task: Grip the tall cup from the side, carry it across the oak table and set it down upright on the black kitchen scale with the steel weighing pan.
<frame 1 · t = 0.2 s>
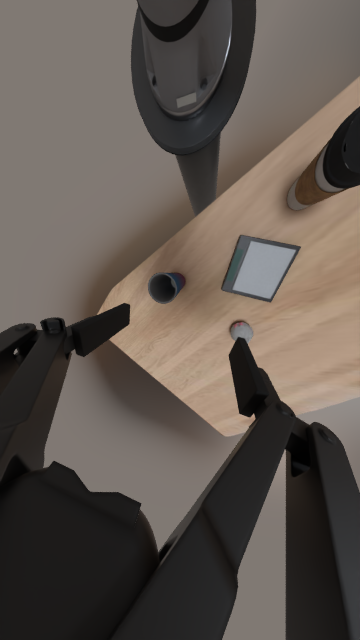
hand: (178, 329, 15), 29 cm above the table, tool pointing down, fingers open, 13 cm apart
scale: (254, 270, 36), on the table
figurine: (239, 327, 43), on the table
cup: (178, 281, 42), on the table
coffee cup: (302, 194, 28), on the table
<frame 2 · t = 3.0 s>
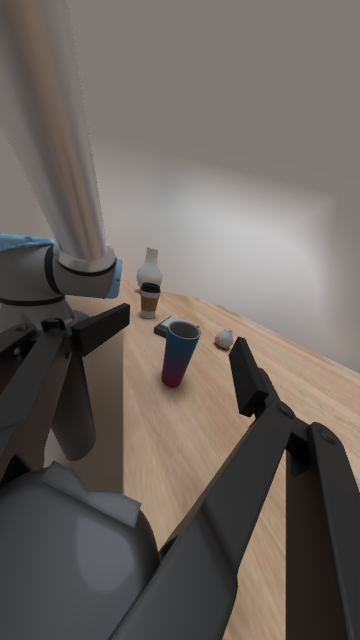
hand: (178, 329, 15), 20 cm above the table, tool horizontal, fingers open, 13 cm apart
scale: (177, 331, 53), on the table
figurine: (220, 346, 50), on the table
cup: (171, 378, 32), on the table
coffee cup: (147, 316, 60), on the table
vase: (148, 293, 90), on the table
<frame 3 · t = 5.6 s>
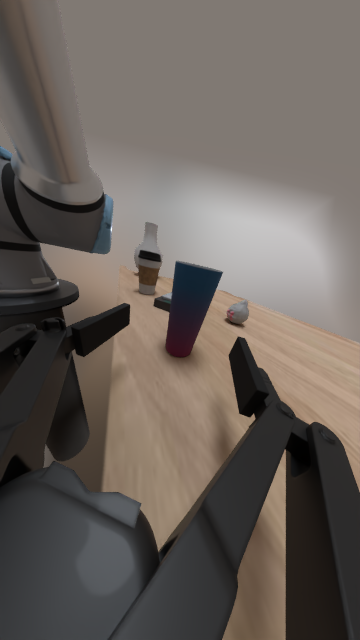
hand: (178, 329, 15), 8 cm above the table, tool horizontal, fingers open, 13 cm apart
scale: (181, 307, 45), on the table
figurine: (232, 322, 43), on the table
cup: (178, 348, 25), on the table
coffee cup: (146, 292, 52), on the table
vase: (147, 276, 82), on the table
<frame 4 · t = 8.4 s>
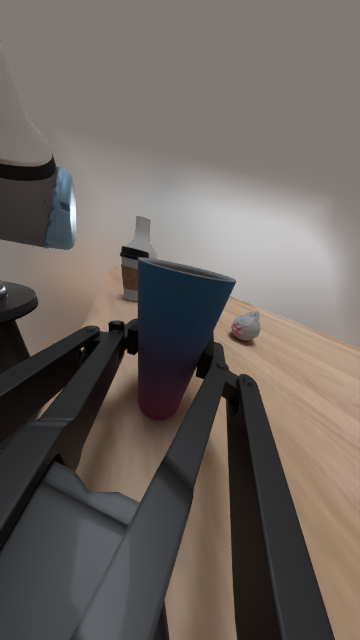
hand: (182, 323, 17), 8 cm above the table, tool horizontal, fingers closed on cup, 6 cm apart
figurine: (239, 338, 34), on the table
cup: (159, 397, 16), on the table, touching gripper
coffee cup: (133, 298, 43), on the table
vase: (139, 278, 74), on the table
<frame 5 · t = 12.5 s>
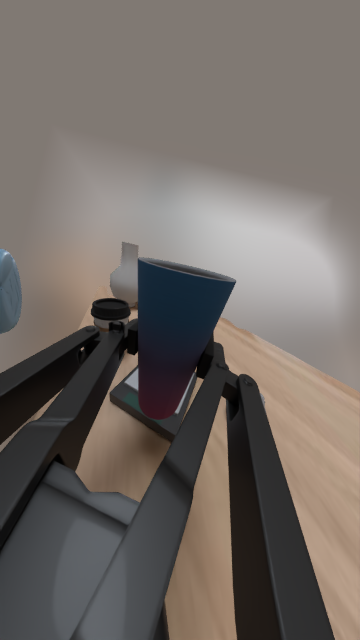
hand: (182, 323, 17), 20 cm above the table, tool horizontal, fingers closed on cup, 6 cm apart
scale: (159, 389, 29), on the table
cup: (159, 397, 16), point 12 cm above the table, touching gripper
coffee cup: (113, 352, 36), on the table
vase: (128, 304, 67), on the table
when the fingers open (11 cm above the table, at t = 16.4 s): cup stays where it is, resting on scale.
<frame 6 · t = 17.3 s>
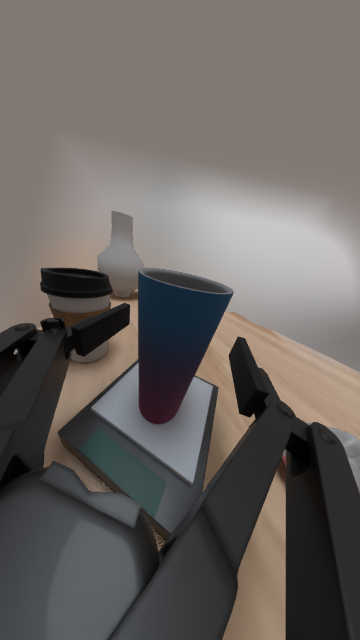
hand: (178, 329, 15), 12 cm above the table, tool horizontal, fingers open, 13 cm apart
scale: (156, 414, 17), on the table
figurine: (297, 472, 15), on the table
cup: (159, 401, 16), point 3 cm above the table, touching scale
coffee cup: (90, 352, 25), on the table
vase: (122, 295, 55), on the table
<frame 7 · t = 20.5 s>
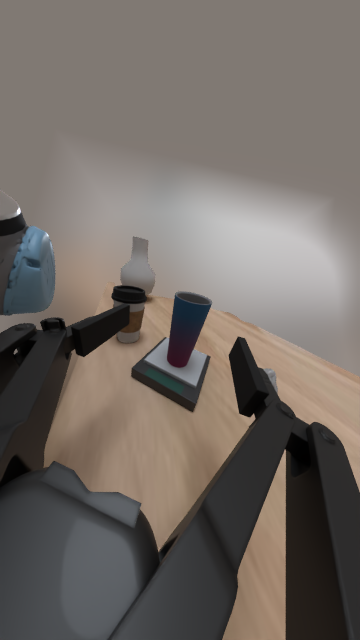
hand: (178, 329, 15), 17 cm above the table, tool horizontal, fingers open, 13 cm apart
scale: (174, 369, 31), on the table
figurine: (250, 396, 29), on the table
cup: (177, 359, 29), point 3 cm above the table, touching scale
coffee cup: (128, 337, 38), on the table
vase: (137, 298, 69), on the table
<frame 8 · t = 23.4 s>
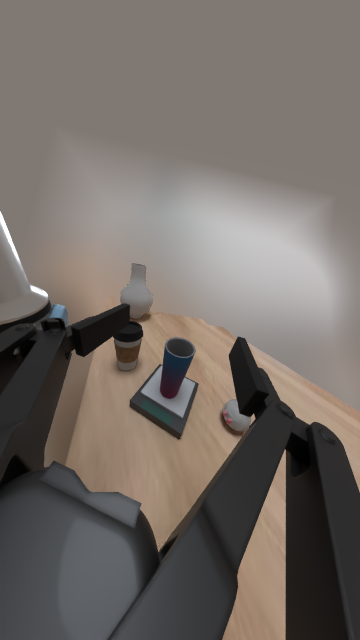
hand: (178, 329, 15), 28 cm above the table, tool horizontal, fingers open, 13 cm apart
scale: (166, 396, 36), on the table
figurine: (230, 421, 34), on the table
cup: (168, 390, 35), point 3 cm above the table, touching scale
coffee cup: (127, 364, 43), on the table
vase: (136, 316, 74), on the table
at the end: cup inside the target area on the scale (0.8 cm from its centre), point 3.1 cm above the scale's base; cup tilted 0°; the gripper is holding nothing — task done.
